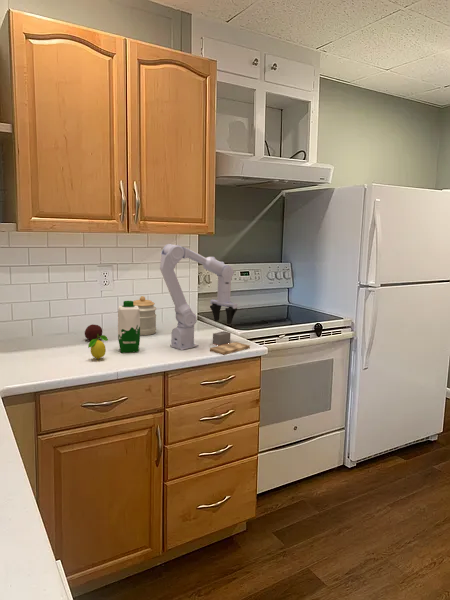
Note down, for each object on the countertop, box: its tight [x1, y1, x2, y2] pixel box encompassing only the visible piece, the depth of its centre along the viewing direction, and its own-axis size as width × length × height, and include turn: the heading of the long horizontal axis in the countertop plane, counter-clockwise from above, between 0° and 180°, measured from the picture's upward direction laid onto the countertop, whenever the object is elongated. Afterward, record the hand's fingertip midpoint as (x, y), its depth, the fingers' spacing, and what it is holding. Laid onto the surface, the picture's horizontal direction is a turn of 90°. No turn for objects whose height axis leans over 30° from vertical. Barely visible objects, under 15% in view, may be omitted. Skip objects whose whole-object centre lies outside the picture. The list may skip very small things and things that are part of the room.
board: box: [209, 341, 251, 356], centre depth 198 cm, size 16×8×1 cm, turn 136°
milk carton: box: [117, 300, 141, 354], centre depth 191 cm, size 9×9×20 cm
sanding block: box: [212, 330, 231, 346], centre depth 207 cm, size 7×4×5 cm, turn 136°
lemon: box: [88, 334, 109, 360], centre depth 178 cm, size 7×6×10 cm
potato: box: [84, 323, 103, 341], centre depth 207 cm, size 7×8×7 cm
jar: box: [132, 295, 157, 336], centre depth 222 cm, size 13×13×18 cm
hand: (222, 322), depth 208 cm, fingers open, 7 cm apart
